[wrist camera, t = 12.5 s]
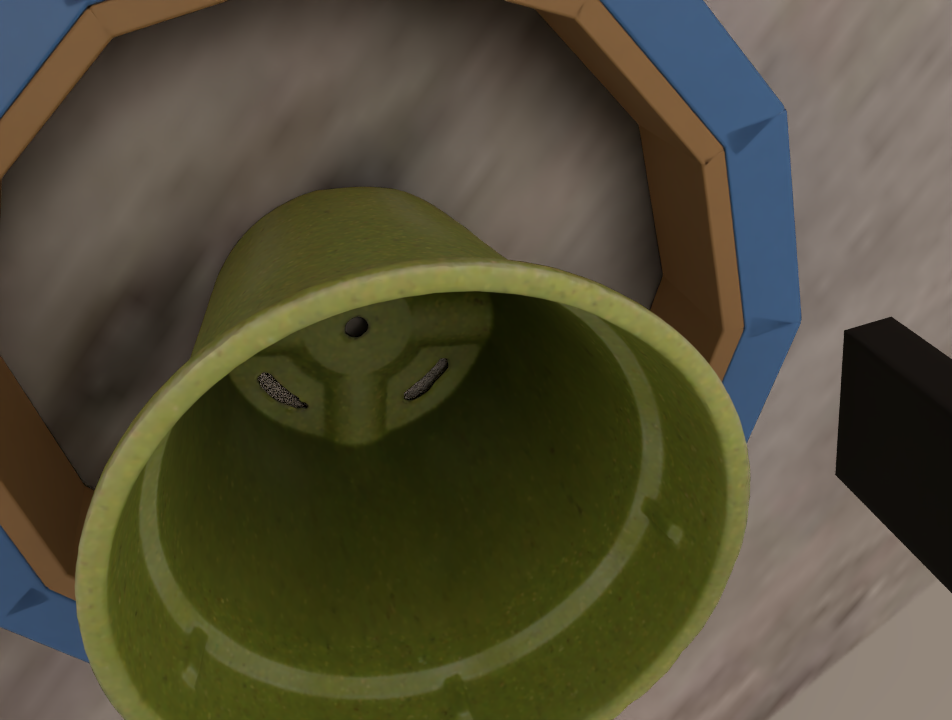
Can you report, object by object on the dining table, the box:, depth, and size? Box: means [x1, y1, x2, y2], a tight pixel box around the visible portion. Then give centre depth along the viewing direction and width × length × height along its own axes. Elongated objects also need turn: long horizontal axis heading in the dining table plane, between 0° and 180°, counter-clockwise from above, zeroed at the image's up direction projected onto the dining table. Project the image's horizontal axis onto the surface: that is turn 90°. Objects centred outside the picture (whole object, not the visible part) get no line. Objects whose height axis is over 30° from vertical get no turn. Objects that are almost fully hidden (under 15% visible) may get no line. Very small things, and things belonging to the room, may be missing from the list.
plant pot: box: [75, 187, 750, 720], centre depth 16 cm, size 9×9×9 cm
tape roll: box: [0, 0, 802, 663], centre depth 19 cm, size 18×18×3 cm
